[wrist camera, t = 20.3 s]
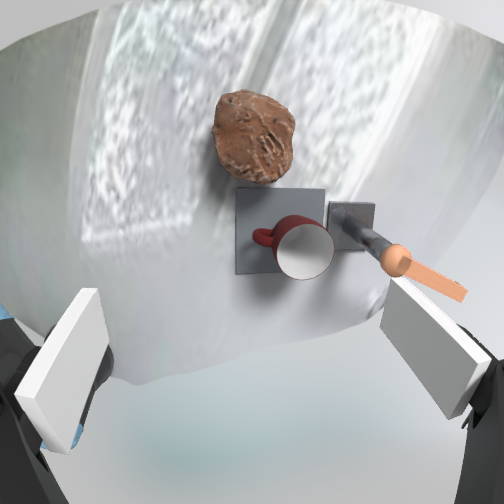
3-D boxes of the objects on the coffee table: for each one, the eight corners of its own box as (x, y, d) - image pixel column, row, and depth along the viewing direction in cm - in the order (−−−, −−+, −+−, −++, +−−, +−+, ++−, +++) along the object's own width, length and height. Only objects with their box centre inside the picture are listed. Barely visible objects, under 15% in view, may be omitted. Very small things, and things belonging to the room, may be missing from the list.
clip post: (325, 247, 53) (360, 286, 40) (329, 201, 51) (369, 227, 37) (367, 247, 54) (409, 282, 41) (372, 202, 51) (420, 227, 38)
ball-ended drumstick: (447, 298, 45) (459, 308, 42) (368, 260, 40) (380, 271, 37) (459, 277, 44) (472, 286, 41) (382, 234, 39) (395, 243, 36)
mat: (236, 272, 53) (236, 273, 53) (236, 188, 48) (236, 188, 48) (317, 269, 55) (318, 270, 54) (324, 189, 50) (325, 189, 49)
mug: (248, 255, 52) (256, 282, 43) (248, 205, 49) (257, 223, 40) (311, 253, 53) (331, 278, 44) (315, 205, 50) (337, 222, 41)
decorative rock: (207, 97, 43) (205, 88, 33) (282, 90, 43) (299, 80, 34) (218, 183, 48) (219, 195, 38) (291, 174, 48) (309, 184, 39)
